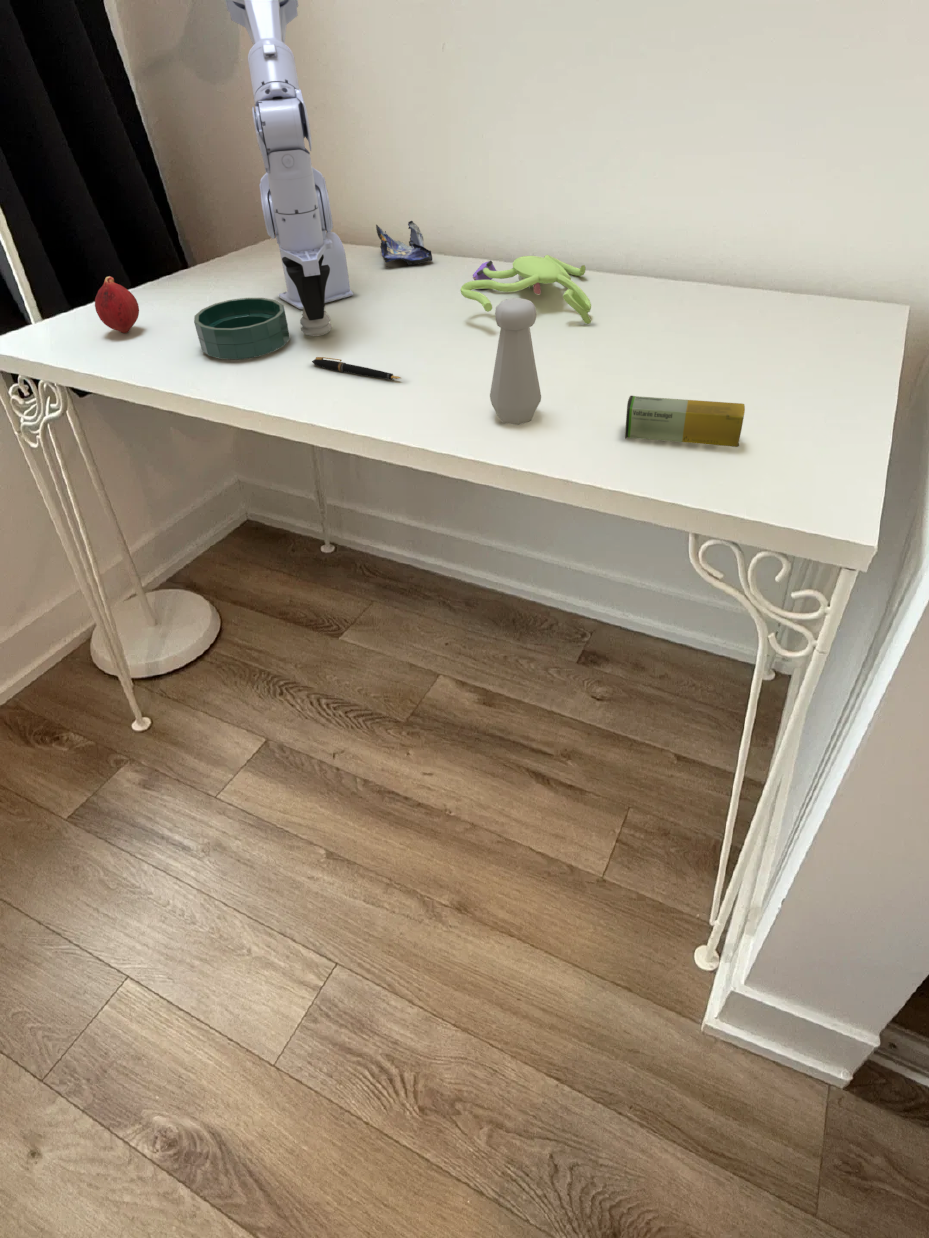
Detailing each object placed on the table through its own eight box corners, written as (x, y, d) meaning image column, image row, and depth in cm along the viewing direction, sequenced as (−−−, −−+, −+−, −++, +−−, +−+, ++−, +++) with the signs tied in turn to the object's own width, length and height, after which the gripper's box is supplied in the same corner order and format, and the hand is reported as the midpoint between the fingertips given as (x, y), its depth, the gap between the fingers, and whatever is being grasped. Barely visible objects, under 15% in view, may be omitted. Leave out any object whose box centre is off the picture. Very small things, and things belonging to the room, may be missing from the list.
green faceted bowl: (268, 322, 117) (261, 291, 114) (305, 346, 109) (299, 313, 106) (190, 344, 112) (181, 312, 109) (223, 370, 104) (214, 337, 101)
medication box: (623, 440, 85) (625, 407, 82) (626, 426, 87) (628, 394, 84) (738, 448, 82) (744, 415, 79) (740, 434, 84) (746, 401, 81)
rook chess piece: (337, 326, 113) (328, 268, 108) (323, 338, 110) (314, 279, 105) (310, 324, 114) (300, 266, 109) (295, 335, 111) (284, 277, 106)
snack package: (446, 249, 141) (385, 245, 144) (443, 212, 136) (380, 209, 139) (427, 282, 134) (363, 278, 136) (423, 245, 129) (357, 241, 131)
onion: (133, 341, 114) (114, 284, 108) (97, 340, 115) (77, 283, 109) (152, 326, 118) (135, 271, 113) (118, 325, 119) (99, 270, 114)
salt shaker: (488, 407, 92) (485, 294, 84) (536, 403, 93) (538, 290, 84) (493, 430, 88) (491, 313, 80) (544, 426, 88) (547, 309, 80)
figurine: (459, 335, 110) (457, 294, 106) (472, 273, 130) (470, 237, 126) (592, 333, 108) (594, 292, 104) (584, 271, 128) (586, 234, 124)
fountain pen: (406, 381, 99) (404, 370, 98) (401, 385, 98) (399, 374, 98) (314, 364, 105) (313, 353, 104) (309, 367, 104) (307, 356, 103)
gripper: (335, 218, 97) (351, 327, 106) (318, 192, 108) (333, 293, 117) (279, 225, 96) (299, 335, 105) (266, 198, 106) (286, 300, 115)
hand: (314, 314), depth 111 cm, fingers closed on rook chess piece, 3 cm apart
